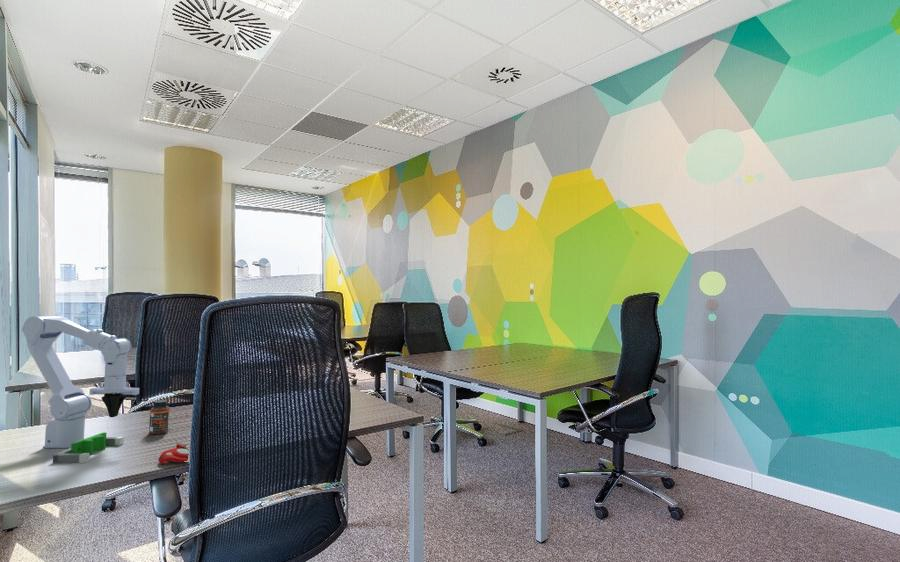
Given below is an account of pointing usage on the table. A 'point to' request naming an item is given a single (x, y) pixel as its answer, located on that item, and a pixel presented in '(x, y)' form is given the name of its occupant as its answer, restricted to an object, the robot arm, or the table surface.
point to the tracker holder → (175, 454)
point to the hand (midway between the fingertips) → (113, 416)
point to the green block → (90, 444)
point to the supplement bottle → (159, 417)
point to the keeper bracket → (82, 457)
